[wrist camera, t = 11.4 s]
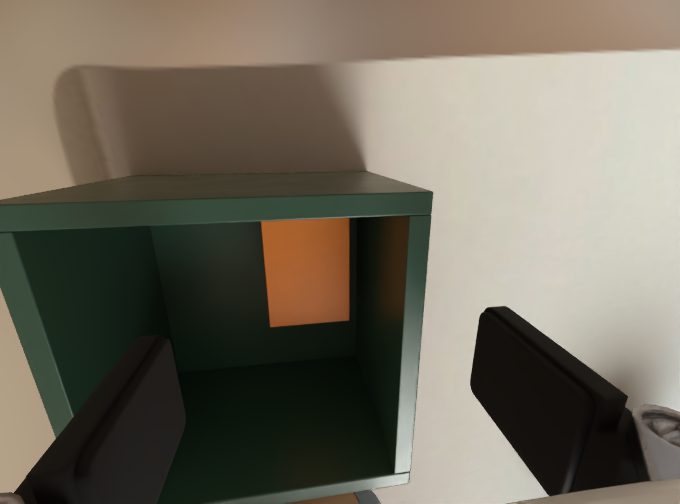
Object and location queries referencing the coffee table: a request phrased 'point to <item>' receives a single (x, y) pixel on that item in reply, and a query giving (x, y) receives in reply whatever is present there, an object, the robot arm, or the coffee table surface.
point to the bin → (230, 322)
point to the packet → (307, 270)
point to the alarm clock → (344, 499)
